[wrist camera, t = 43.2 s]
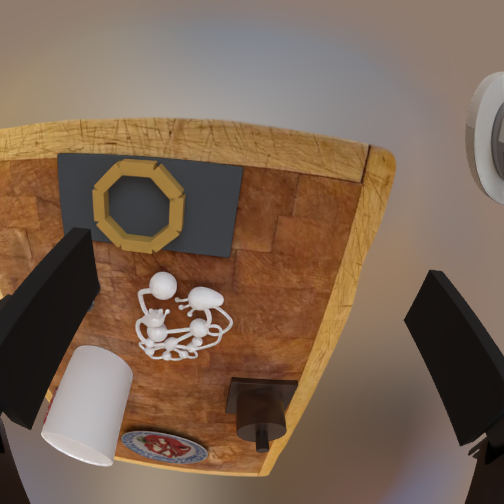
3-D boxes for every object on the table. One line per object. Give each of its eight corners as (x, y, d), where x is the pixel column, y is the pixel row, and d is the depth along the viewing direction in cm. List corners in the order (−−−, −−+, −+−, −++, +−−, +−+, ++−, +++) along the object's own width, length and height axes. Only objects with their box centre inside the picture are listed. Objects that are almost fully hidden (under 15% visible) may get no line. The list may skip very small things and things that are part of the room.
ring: (188, 163, 33) (186, 167, 31) (182, 251, 39) (180, 257, 37) (97, 157, 32) (91, 160, 30) (100, 240, 37) (96, 246, 36)
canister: (111, 391, 58) (91, 467, 40) (63, 358, 52) (32, 434, 35) (145, 375, 54) (127, 464, 37) (92, 336, 48) (55, 427, 31)
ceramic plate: (226, 448, 74) (226, 457, 71) (173, 461, 82) (172, 469, 79) (153, 417, 63) (151, 427, 61) (108, 433, 71) (106, 441, 69)
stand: (297, 380, 55) (306, 437, 44) (282, 411, 62) (287, 460, 51) (231, 377, 54) (231, 436, 43) (225, 408, 60) (224, 459, 49)
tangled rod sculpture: (200, 362, 53) (199, 380, 50) (124, 341, 48) (120, 359, 45) (245, 291, 44) (247, 311, 41) (149, 259, 39) (143, 279, 36)
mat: (243, 166, 34) (243, 168, 33) (229, 254, 40) (229, 258, 39) (60, 153, 31) (57, 154, 31) (66, 234, 37) (64, 237, 37)
